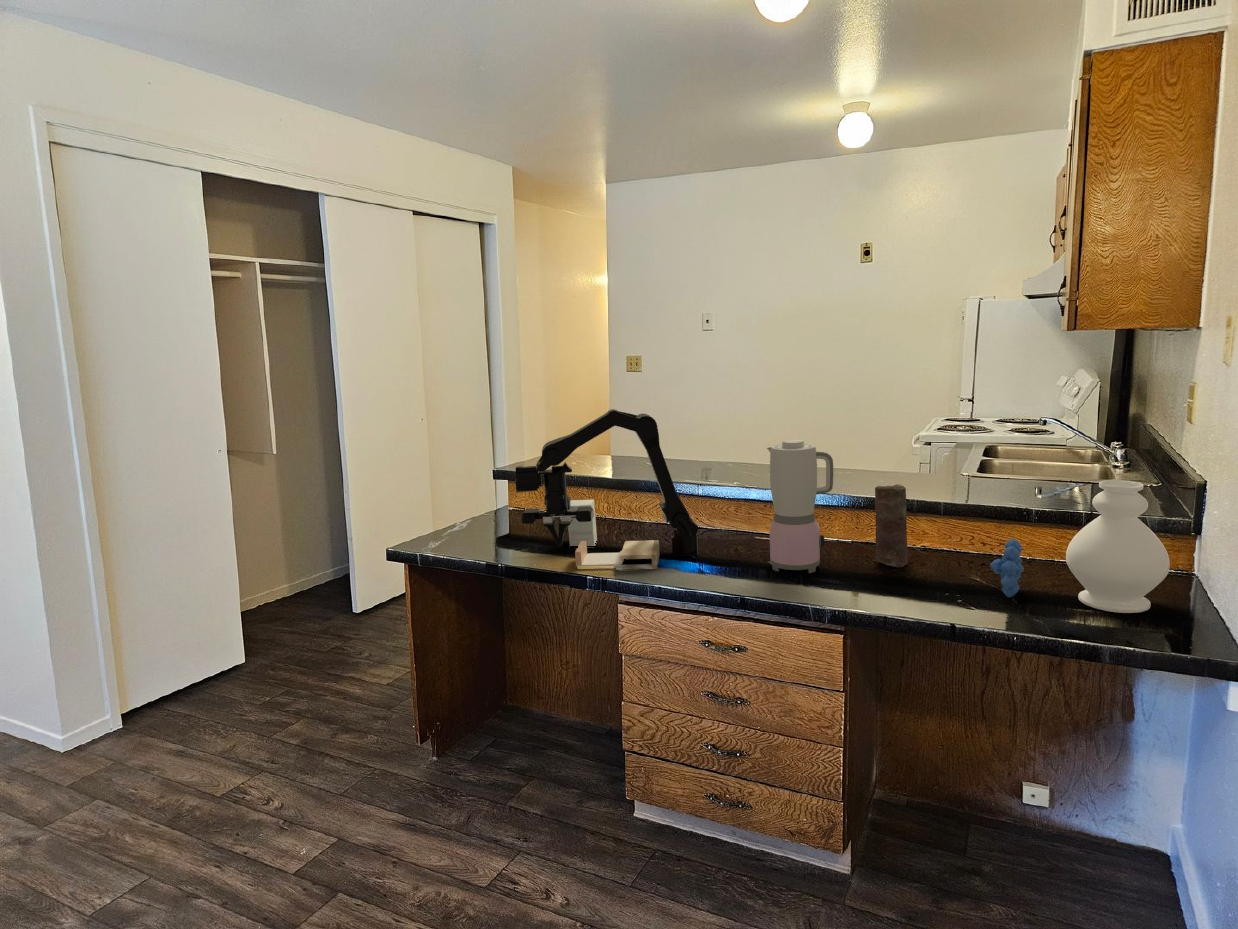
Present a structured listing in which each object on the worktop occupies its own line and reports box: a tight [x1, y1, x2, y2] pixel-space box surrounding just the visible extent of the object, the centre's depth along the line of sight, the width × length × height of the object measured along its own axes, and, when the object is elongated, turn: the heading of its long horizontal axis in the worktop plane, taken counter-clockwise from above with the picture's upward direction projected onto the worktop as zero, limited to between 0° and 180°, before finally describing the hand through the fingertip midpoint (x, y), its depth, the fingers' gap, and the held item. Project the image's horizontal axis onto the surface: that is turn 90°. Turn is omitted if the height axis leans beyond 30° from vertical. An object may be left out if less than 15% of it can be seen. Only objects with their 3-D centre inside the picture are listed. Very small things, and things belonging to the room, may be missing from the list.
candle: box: [874, 483, 908, 568], centre depth 188 cm, size 8×7×20 cm
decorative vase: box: [1065, 479, 1171, 614], centre depth 156 cm, size 18×18×25 cm
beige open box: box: [615, 539, 660, 570], centre depth 202 cm, size 11×13×4 cm
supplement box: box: [567, 499, 598, 547], centre depth 221 cm, size 7×7×13 cm
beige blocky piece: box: [574, 541, 625, 567], centre depth 203 cm, size 12×10×5 cm
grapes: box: [989, 538, 1025, 598], centre depth 165 cm, size 12×7×12 cm, turn 147°
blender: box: [766, 439, 834, 574], centre depth 188 cm, size 16×12×32 cm
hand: (559, 546), depth 204 cm, fingers closed
